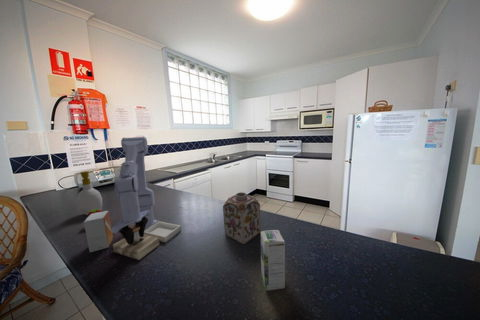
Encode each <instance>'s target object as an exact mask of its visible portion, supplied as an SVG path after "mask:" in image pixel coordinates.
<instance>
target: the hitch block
mask: <svg viewBox="0 0 480 320" xmlns="http://www.w3.org/2000/svg"><path fill="white" fill-rule="evenodd" d="M140 241H141V242H139V243H138V244H136V245H135V246H134V245H132V244H131V245H130V244H127V241H126V240H125V238H124V237H123V238H121V239H120V240H119V241H117V242H115V243H113V244H112V248H113V252H114V253H116V254H120V255H123V256H126V257H128V258H131V259H134V260H138V261H139V260H141V259H142V258H144V257H145V256H146V255H148V254H149V253H150V252H152V251H153V250H154V249H155V248H157V247H159V246H160V241H159V239H158V238H157V237H153V236H148V235H144V237H140Z"/></svg>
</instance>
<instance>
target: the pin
mask: <svg viewBox="0 0 480 320" xmlns="http://www.w3.org/2000/svg"><path fill="white" fill-rule="evenodd" d="M129 227H130V228H132V240H133V244H132V245H134V246H135V245H136V244H138V243H139V242H141V241H140V234H139V229H140V228H141V227H140V225H139V224H136V225H134V224H131V225H129Z"/></svg>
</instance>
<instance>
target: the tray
mask: <svg viewBox="0 0 480 320" xmlns="http://www.w3.org/2000/svg"><path fill="white" fill-rule="evenodd" d="M180 232H182V225H179V224H176V223H170V222H165V221H159V220H158V222H156V223H155V224H153V225H152V226H150V227H148V228H147V229H145V230H144V235H148V236H153V237H157V238H158V239H159V242H161V243H167V242H169V241H170V240H172V239H173V238H174V237H175V236H177V235H178V234H179V233H180Z"/></svg>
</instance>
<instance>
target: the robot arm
mask: <svg viewBox="0 0 480 320" xmlns="http://www.w3.org/2000/svg"><path fill="white" fill-rule="evenodd" d="M120 144H121V148H122V150H123V152H124V153H125V157H124V161H123V162H122V163H121V165H120V170H119V175H118V178H117V179H115V181H114V190H115V191H114V192H115V193H116V194H117V198H118V199H119V203H120V208H121V213H122V214H121V215H122V220H120V221H119V222H117V224H115V225H112V226H111V231H112V234H118V232H119V233H120V234H121V235H122V237H123V239H124V238H125V240H126V241H127V244H130V245H131V244H133V240H132V228H130V226H132V225H136V224H139V225H140V227H141V228H140V229H139V234H140V237H144V230H146V229H148V228H149V227H151V226H152V225H154V224H156V223H157V222H159V220H158V219H155V218H154V217H155V215H154V210H153V206H154V205H155V204H156V200H155V199H156V198H155V193H154V190H152V189H151V188H149V187H148V186H147V185H148V184H147V177H146V174H147V173H146V164H145V156H146V155H147V154H149V146H148V145H149V144H148V140H147V137H145V136H140V137H135V136H134V137H122V138H121V140H120Z"/></svg>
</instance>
